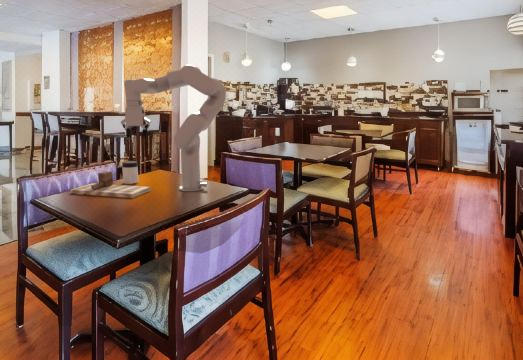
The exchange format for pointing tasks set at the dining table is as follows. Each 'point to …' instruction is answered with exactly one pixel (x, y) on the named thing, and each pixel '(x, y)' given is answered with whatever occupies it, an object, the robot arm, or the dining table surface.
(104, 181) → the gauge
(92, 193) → the board
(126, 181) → the jar
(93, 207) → the dining table surface
